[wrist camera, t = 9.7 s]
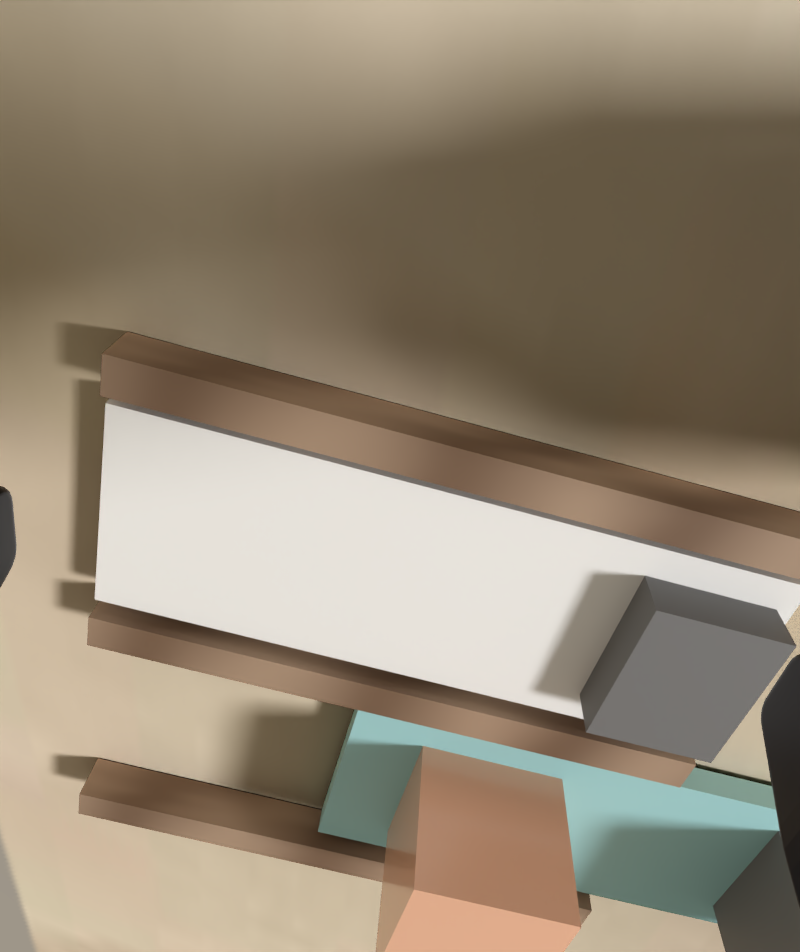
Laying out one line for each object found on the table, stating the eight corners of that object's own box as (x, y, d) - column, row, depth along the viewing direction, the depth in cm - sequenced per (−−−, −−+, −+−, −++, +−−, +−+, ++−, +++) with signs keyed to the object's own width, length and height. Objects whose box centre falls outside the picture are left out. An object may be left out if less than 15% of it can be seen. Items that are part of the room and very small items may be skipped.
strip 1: (797, 566, 22) (834, 623, 20) (690, 723, 25) (711, 786, 23) (120, 387, 21) (80, 428, 18) (107, 579, 24) (72, 632, 22)
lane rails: (824, 518, 21) (848, 552, 20) (575, 887, 31) (580, 926, 30) (127, 331, 20) (102, 353, 19) (96, 777, 30) (78, 813, 28)
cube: (562, 778, 26) (581, 927, 22) (515, 860, 28) (523, 1007, 24) (422, 745, 26) (413, 889, 21) (387, 830, 28) (373, 974, 24)
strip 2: (898, 817, 27) (1022, 1041, 21) (798, 918, 31) (879, 1135, 24) (361, 686, 26) (330, 885, 20) (322, 808, 29) (284, 1008, 23)
